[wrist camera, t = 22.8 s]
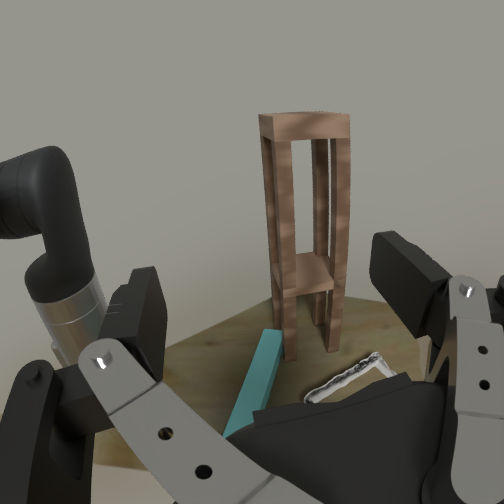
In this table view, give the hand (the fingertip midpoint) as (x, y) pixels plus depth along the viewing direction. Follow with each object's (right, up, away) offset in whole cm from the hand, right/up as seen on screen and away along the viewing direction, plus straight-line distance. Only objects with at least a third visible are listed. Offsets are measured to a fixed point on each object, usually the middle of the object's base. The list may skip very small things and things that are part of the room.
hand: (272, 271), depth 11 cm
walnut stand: (+7, -13, +35) cm, 38 cm away
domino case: (0, -18, +26) cm, 32 cm away
